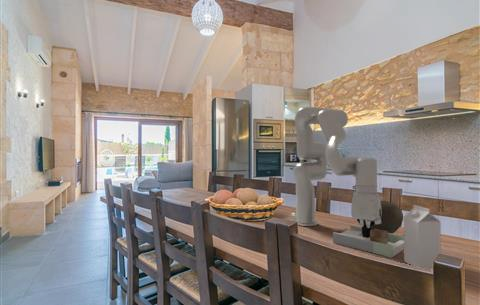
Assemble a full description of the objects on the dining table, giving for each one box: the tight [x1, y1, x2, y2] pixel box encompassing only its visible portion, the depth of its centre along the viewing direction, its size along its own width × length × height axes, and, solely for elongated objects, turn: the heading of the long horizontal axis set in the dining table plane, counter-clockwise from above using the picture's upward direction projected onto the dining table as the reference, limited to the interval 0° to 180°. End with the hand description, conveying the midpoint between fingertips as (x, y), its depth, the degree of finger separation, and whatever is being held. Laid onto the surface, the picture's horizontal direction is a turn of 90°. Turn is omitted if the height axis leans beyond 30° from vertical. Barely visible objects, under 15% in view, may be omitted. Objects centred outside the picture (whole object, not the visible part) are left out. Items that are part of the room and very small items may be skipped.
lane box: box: [332, 225, 404, 259], centre depth 107 cm, size 22×16×4 cm
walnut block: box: [370, 229, 388, 244], centre depth 101 cm, size 4×4×4 cm
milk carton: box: [403, 204, 442, 269], centre depth 86 cm, size 7×7×19 cm
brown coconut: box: [371, 200, 404, 234], centre depth 119 cm, size 14×14×15 cm
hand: (366, 236), depth 104 cm, fingers closed
